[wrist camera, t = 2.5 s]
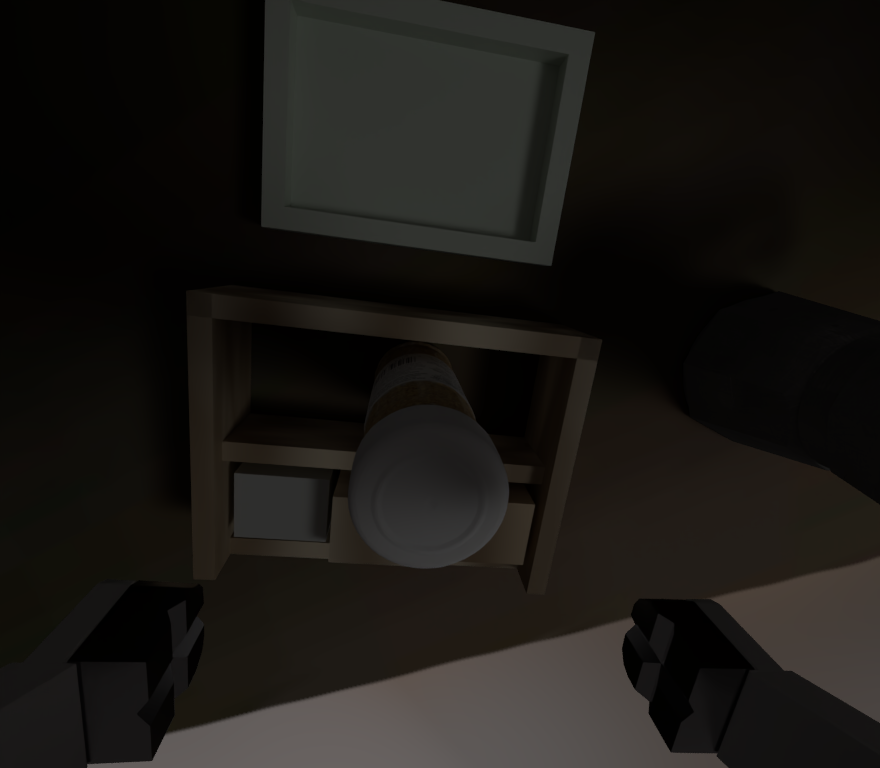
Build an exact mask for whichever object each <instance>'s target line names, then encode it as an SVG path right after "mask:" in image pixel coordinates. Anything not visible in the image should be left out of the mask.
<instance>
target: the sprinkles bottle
mask: <svg viewBox="0 0 880 768" xmlns="http://www.w3.org/2000/svg"><path fill="white" fill-rule="evenodd" d="M364 432H365V435H364V438H363V439H362V441H361V443H360V445H359V447H358V449H357V451H356V454H355V457H354V461H353V465H352V470H351V475H350V481H349V488H348V508H349V513H350V516H351V519H352V522H353V525H354V527H355V529H356V531H357V533H358V534H359V535H360V537H361V538H362V540H363V541H364V542H365V543H366V544H367V545H368V546H369V547H370V548H371V549H372V550H373V551H374V552H376V553H377V554H378V555H380V556H382V557H383V558H385V559H387V560H389V561H391V562H394V563H396V564H399V565H403V566H407V567H413V568H438V567H444V566H447V565H451V564H454V563H457V562H459V561H461V560H464V559H466V558H468V557H469V556H471V555H473V554H474V553H476V552H477V551H479V550H480V549H481V548H482V547H484V546H485V545H486V544H487V543H488V542H489V541H490V539H491V538H492V537H493V536H494V534H495V533H496V532H497V530H498V528H499V527H500V525H501V523H502V521H503V519H504V516H505V513H506V510H507V505H508V499H509V484H508V478H507V473H506V471H505V468H504V465H503V462H502V460H501V458H500V455H499V453H498V451H497V449H496V447H495V445H494V444H493V442H492V440H491V438H490V437H489V435H488V434H487V432H486V431H485V430H484V429H483V428H482V427H481V426H480V425H479V424H478V423H477V422H476V419H475V416H474V413H473V411H472V409H471V407H470V405H469V403H468V401H467V399H466V397H465V395H464V393H463V390H462V388H461V386H460V384H459V382H458V380H457V378H456V376H455V374H454V372H453V369H452V367H451V363H450V361H449V359H448V358H447V357H446V355H445V354H444V353H443V352H442V351H441V350H440V349H438V348H437V347H434V346H433V345H431V344H428V343H425V342H418V341H411V342H405V343H403V344H399V345H397V346H396V347H394V348H391V349H390V350H389V351H388V352H387V353H386V354H385V355H384V356H383V357H382V359H381V360H380V362H379V364H378V367H377V369H376V371H375V381H374V385H373V388H372V392H371V396H370V401H369V405H368V410H367V414H366V419H365V425H364Z"/></svg>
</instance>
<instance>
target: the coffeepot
mask: <svg viewBox="0 0 880 768" xmlns="http://www.w3.org/2000/svg"><path fill="white" fill-rule="evenodd" d="M683 389H684V393H685V397H686V401H687V403H688V405H689V413H690V417H691V418H693V419H695V420H696V421H698V422H700V423H702V424H703V425H705V426H707V427H709V428H710V429H712V430H714V431H716V432H717V433H719V434H721V435H723V436H725V437H726V438H728V439H730V440H732V441H734V442H737V443H740V444H744V445H747V446H750V447H753V448H756V449H760V450H763V451H766V452H769V453H773V454H776V455H779V456H782V457H785V458H789V459H792V460H795V461H798V462H802V463H805V464H808V465H811V466H814V467H818V468H821V469H824V470H831V472H832V473H834V474H835V475H837V476H838V477H840V478H841V479H843V480H844V481H846V482H847V483H849V484H850V485H852V486H853V487H855V488H856V489H858V490H859V491H861V492H862V493H864V494H865V495H867V496H868V497H870V498H871V499H873V500H874V501H876V502H877V503H879V504H880V321H878V320H874V319H871V318H868V317H864V316H861V315H857V314H854V313H851V312H847V311H844V310H840V309H837V308H834V307H830V306H827V305H824V304H820V303H817V302H813V301H810V300H807V299H803V298H800V297H796V296H793V295H790V294H786V293H783V292H780V291H778V292H775V293H772V294H768V295H765V296H761V297H757V298H752V299H748V300H744V301H742V302H739V303H737V304H734V305H732V306H729V307H726V308H723V309H720V310H719V311H718V312H717V313H716V314H715V316H714V317H713V318H712V319H711V320H710V321H709V322H708V324H707V325H706V326H705V327H704V329H703V330H702V331H701V332H700V334H699V335H698V336H697V338H696V340H695V341H694V343H693V345H692V347H691V348H690V351H689V354H688V357H687V358H686V359H685V361H684V362H683Z"/></svg>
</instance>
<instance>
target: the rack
mask: <svg viewBox="0 0 880 768" xmlns="http://www.w3.org/2000/svg"><path fill="white" fill-rule="evenodd" d="M186 309H187V347H188V386H189V424H190V463H191V501H192V539H193V578H194V579H204V580H215V579H216V577H217V575H218V574H219V572H220V570H221V569H222V567H223V565H224V564H225V562H226V560H227V558H228V557H229V555H230V554H244V555H264V556H284V557H303V558H323V559H329V546H330V532H331V524H330V528H329V531H328V535H327V539H326V542H319V541H301V540H283V539H265V538H247V537H234V473H235V471H236V470H237V469H238V468H239V466H240V465H241V464H242V463H243V462H248V463H261V464H275V465H288V466H301V467H315V468H328V469H341V470H352V465H353V461H354V457H355V454H356V451H357V449H358V447H359V445H360V443H361V441H362V439H363V438H364V435H365V432H364V425H365V423H357V422H345V421H334V420H323V419H311V418H300V417H288V416H277V415H266V414H254V413H251V342H252V323H260V324H269V325H278V326H287V327H296V328H305V329H314V330H323V331H332V332H341V333H350V334H359V335H368V336H377V337H386V338H395V339H404V340H413V341H422V342H431V343H440V344H449V345H458V346H467V347H476V348H485V349H494V350H503V351H512V352H521V353H530V354H539V355H540V358H539V363H538V368H537V373H536V379H535V384H534V389H533V394H532V399H531V405H530V410H529V415H528V420H527V426H526V431H525V436H524V437H517V436H505V435H494V434H488V435H489V437H490V438H491V440H492V442H493V444H494V445H495V447H496V449H497V451H498V453H499V455H500V458H501V460H502V462H503V465H504V468H505V471H506V473H507V478H508V482H515V483H523V484H524V485H525V487H526V489H527V491H528V493H529V494H530V496H531V498H532V500H533V502H534V503H535V508H534V513H533V518H532V523H531V527H530V532H529V537H528V542H527V547H526V552H525V557H524V562H523V565H513V564H494V563H474V562H457V563H454V564H451V565H461V566H480V567H500V568H517V569H518V572H519V575H520V577H521V580H522V583H523V585H524V588H525V591H526V593H527V594H545V590H546V586H547V581H548V577H549V573H550V568H551V564H552V559H553V555H554V551H555V546H556V542H557V537H558V533H559V529H560V524H561V520H562V515H563V511H564V507H565V502H566V498H567V493H568V489H569V485H570V480H571V476H572V471H573V467H574V463H575V458H576V454H577V449H578V445H579V441H580V436H581V432H582V427H583V423H584V419H585V414H586V410H587V405H588V401H589V397H590V392H591V388H592V383H593V379H594V375H595V370H596V366H597V361H598V357H599V353H600V348H601V344H602V339H599V338H597V337H594V336H591V335H589V334H586V333H584V332H581V331H578V330H576V329H573V328H571V327H568V326H565V325H562V324H554V323H546V322H537V321H529V320H521V319H512V318H504V317H496V316H487V315H479V314H471V313H463V312H454V311H446V310H438V309H429V308H421V307H413V306H404V305H396V304H388V303H379V302H371V301H363V300H354V299H346V298H338V297H330V296H321V295H313V294H305V293H296V292H288V291H280V290H271V289H263V288H255V287H246V286H238V285H227V286H219V287H212V288H204V289H196V290H189V291H186Z"/></svg>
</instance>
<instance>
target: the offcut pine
mask: <svg viewBox="0 0 880 768" xmlns="http://www.w3.org/2000/svg"><path fill="white" fill-rule="evenodd" d="M350 475H351V470H341V471H340V475H339V478H338V481H337V485H336V488H335V491H334V495H333V503H332V517H331V532H330V546H329V561H328V562H336V563H355V564H375V565H395V566H403V565H399V564H396V563H394V562H391V561H389V560H387V559H385V558H383V557H382V556H380V555H378V554H377V553H376V552H374V551H373V550H372V549H371V548H370V547H369V546H368V545H367V544H366V543H365V542H364V541H363V540H362V538H361V537H360V535H359V534H358V533H357V531H356V529H355V527H354V525H353V522H352V519H351V516H350V513H349V508H348V488H349V481H350Z"/></svg>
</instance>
